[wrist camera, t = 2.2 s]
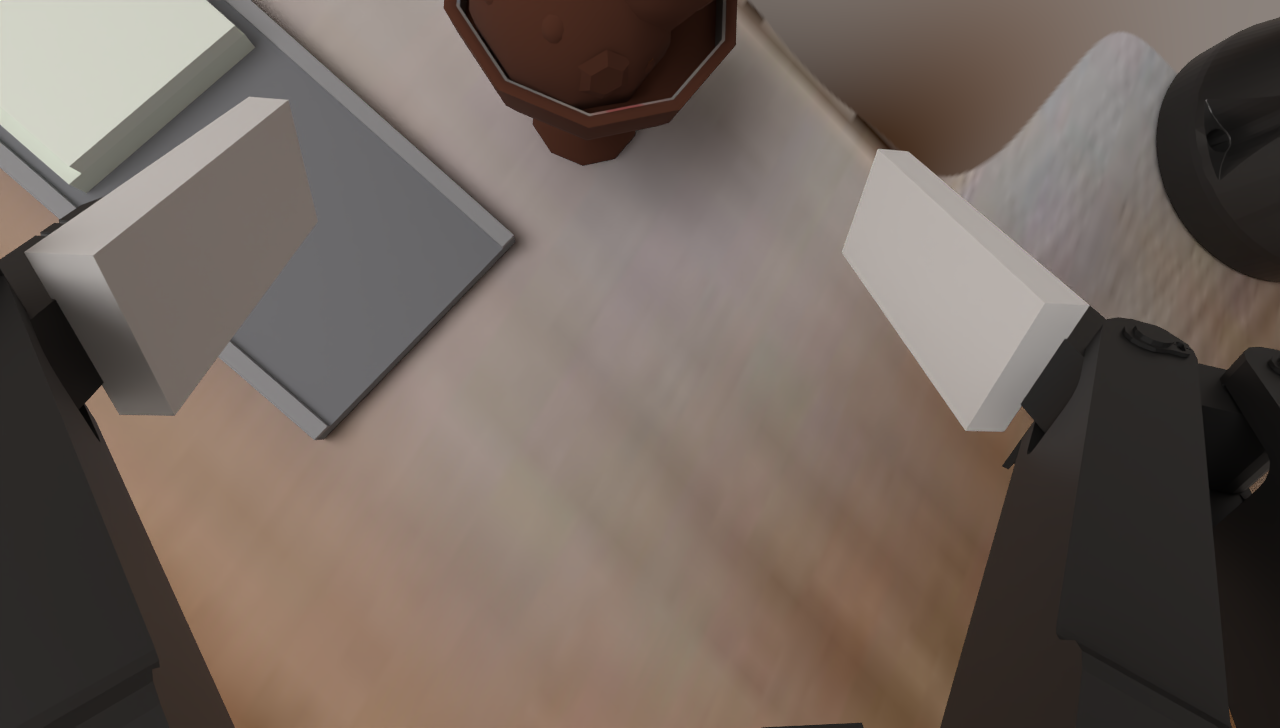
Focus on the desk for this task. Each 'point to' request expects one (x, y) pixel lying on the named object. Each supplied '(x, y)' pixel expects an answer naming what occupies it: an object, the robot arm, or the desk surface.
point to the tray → (323, 231)
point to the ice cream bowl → (595, 63)
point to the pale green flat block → (105, 75)
